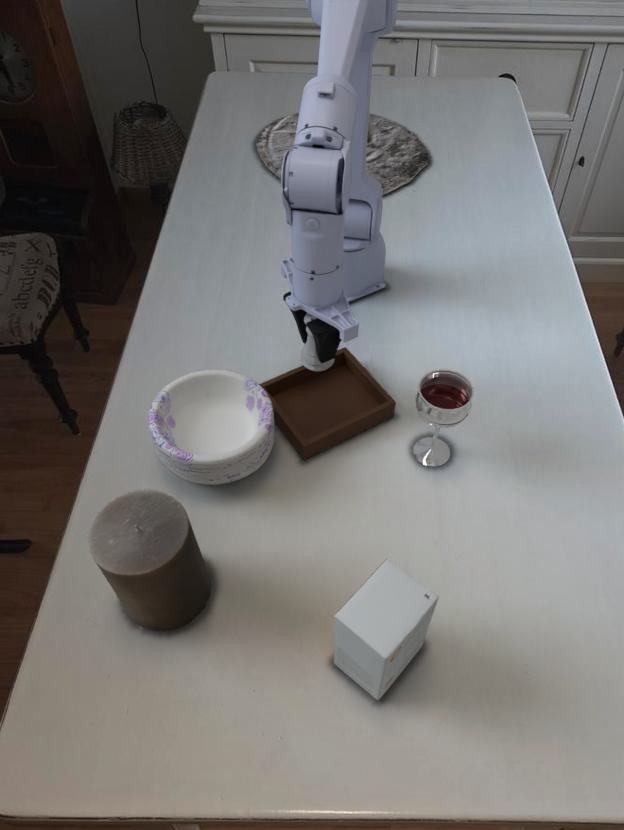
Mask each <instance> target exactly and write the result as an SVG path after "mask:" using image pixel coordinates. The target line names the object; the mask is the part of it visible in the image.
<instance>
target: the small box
mask: <svg viewBox="0 0 624 830" xmlns="http://www.w3.org/2000/svg"><path fill="white" fill-rule="evenodd" d="M439 597H440V595H439V594H437V593H436V592H434V591H432V590H431V589H430V588H428V587H427V586H426V585H424V584H423V583H422V582H421V581H419V580H418V579H416V578H415V577H414V576H412V575H411V574H410V573H408V572H407V571H405V570H404V569H402V568H401V567H400V566H399V565H397V564H396V563H394V562H393V561H392V560H390V559H389V558H385V559H384V561H383V562H381V563H380V565H379V566H378V567H377V568H376V569H375V570H374V571H373V572H372V574H371V575H370V576H369V577H368V578H367V579H366V580H365V581H364V583H362V584H361V585H360V587H359V588H357V590H356V591H355V592H354V593H353V594H352V595H351V597H350V598H348V600H347V601H346V602H345V603H344V604H343V605H342V606H341V607H340V609H339V610H338V611H337V612H336V613H335V614H334V615H333V616H334V617H333V664H334V665H335V666H336V667H338V669H340V670H341V671H342V672H343V673H344V674H345V675H347V676H348V677H349V678H351V680H353V681H354V682H355V683H356V684H357V685H358V686H360V687H361V688H362V689H363V690H364V691H366V693H368V694H369V695H370V696H372V698H374V699H375V700H376V701H380V700H381V698H382V697H383V696H384V695H385V694H386V692H387V691H388V690H389V688H390V687H391V686H392V685H393V684H394V682H395V681H396V680H397V679H398V678H399V676H400V675H401V674H402V672H404V670H405V669H406V668H407V666H408V665H409V664H410V663H411V661H412V660H413V659H414V657H415V656H416V655H417V653H419V651H420V650H421V648H422V647H423V644H424V642H425V638H426V635H427V632H428V629H429V626H430V623H431V621H432V618H433V615H434V612H435V609H436V607H437V604H438V601H439Z"/></svg>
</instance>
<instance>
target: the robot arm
mask: <svg viewBox="0 0 624 830" xmlns="http://www.w3.org/2000/svg"><path fill="white" fill-rule="evenodd" d="M305 1H306V8H307V11H308V12H309V14H310V16H311V21H312V23H314V24H316V25H317V26H318V27H319V28H320V35H319V36H320V37H319V47H318V49H319V50H318V62H317V75H316V76H314V77H312V78H311V79H309V80H308V81H307V83H305V85H304V88H303V90H302V95H301V101H300V106H299V107H300V108H299V118H298V124H297V129H296V135H295V140H294V146H293V151H289V150H287V151H286V152H285V155H284V159H283V164H282V172H281V179H280V190H281V200H282V205H283V208H284V210H285V218H286V219H285V220H286V224H287V225H289V226H290V243H291V256H290V257H288V258H285V259H283V260H280V262H279V263H280V264H279V265H280V275H281V276H282V277H283V278H284V279H286V281H287V284H288V287H289V291H287V292H285V293H284V294H283V297H282V300H283V302H285V304H286V306H287V307H288V308H289V310H290V312H291V314H292V316H293V318H294V321H295V324H296V327H297V330H298V334H299V336H300V339H301V341H302V343H303V344H304V345H305V344H306V342H307V337H308V333H307V331H306V327H308V328H309V330H310V331H311V333H312V335H313V338H314V341H315V345H316V353H317V357H318V360H319V361H320V362H321V363H324V362H327V361H329V360H331V359H334V358H335V355H336V352H337V350H339V347H340V344H341V342H343V343H347V342H349V341H352V340H354V339H356V338H358V337H359V330H360V323H359V322H358V321H357V320H356V318H355V316H354V315H353V312H352V309H351V307H350V306H351V305H350V302H354V301H356V300H357V299H360V298H361V299H362V298H364V297H365V296H368V295H370V294H373V293H375V292H378V291H380V290H382V289H385V288H386V287H387V284H386V283H385V282H384V275H385V265H386V254H387V249H386V243H385V239H384V236H383V234H382V233H381V225H382V219H383V217H382V216H383V208H384V207H383V204H384V202H383V195H382V194H383V189H382V188H381V186H382V185H381V184H380V183H379V182H378V181H377V180H376V179H375V178H373V177H372V176H371V175H370V174H369V173H368V172H367V171H366V170H365V166H366V152H367V137H368V122H369V114H370V105H371V91H372V78H373V77H372V75H373V62H374V61H373V59H374V51H375V48H376V45H377V42H378V40H379V38H380V37H383V36H386V35H391V34H393V33H394V29H395V27H396V23H397V14H398V13H397V12H398V5H399V0H305ZM307 313H309V314H311V315H313V316H315V317H317V319H314V320H312V321H309V322H307V323H306V324H305V322H304V317H305V315H306V314H307Z"/></svg>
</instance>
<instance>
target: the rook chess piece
mask: <svg viewBox="0 0 624 830" xmlns="http://www.w3.org/2000/svg"><path fill="white" fill-rule="evenodd" d="M314 319H317V317H315V316H313V315H311V314H309V313H307V314H306V315H305V317H304V322H305V324H306V323H307V322H309V321H312V320H314ZM306 331H307V333H308V337H307V342H306V344H304V345H303V347H302V348H301V351H300V362H301V363H302V365H304V366H305V367H306V368H308V369H309V370H311V371H316V372H320V371H324V370H326V369H328V368H329V367H331V366H332V364H333V363H334V359H331V360H329V361H327V362H324V363H321V362H320V361H319V360H318V357H317V353H316V345H315V341H314V338H313V335H312V333H311V331H310V330H309V328H308V327H306Z"/></svg>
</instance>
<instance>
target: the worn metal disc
mask: <svg viewBox="0 0 624 830" xmlns="http://www.w3.org/2000/svg"><path fill="white" fill-rule="evenodd" d="M298 118H299V113H294V114H290V115H287V116H284V117H281V118H279V119H276V120H274V121H273V122H271V123H270V124H267V126H265V128H263V129H262V130H261V131H260V133H258V135H257V137H256V140H255V142H254V143H255V146H256V150H257V152H258V153H257V154H258V155H259V157H260V159H261V161H262V162H263V163H264V165H265V167H266V168H267V169H268V170H269V171H270V172H271V173H272V174H273V175H275V176H276V177H277V178H278V179H280V180H281V172H282V164H283V159H284V155H285V152H286V151H287V150H289V151H293V146H294V140H295V135H296V129H297V124H298ZM429 163H430V157H429V153H427V150H426V148H425V146H424V145H423V143H422V142H421V141H420V140H419V139H418V137H417V136H416V135H415V134H414V133H413V132H412V131H411V130H408V129H407V128H405V127H404V126H403V125H401V124H399V123H396V121H393V120H389V119H387V118H385V117H383V116H380V115H376V114H374V113H373V114H372V113H369V122H368V137H367V152H366V166H365V170H366V171H367V172H368V173H369V174H370V175H371V176H372V177H373V178H375V179H376V180H377V181H378V182H379V183H380V184H381V185H382V186H381V188H382V189H383V194H382V196H384V195H387V194H389V193H392V192H393V191H395V190H397V189H398V188H400V187H402V186H404V185H405V186H406V185H408V184H410V183H411V182H412V180H413V179H414V178H415V177H416V176H417V174H419V172H421V171H422V170H423V169H424V168H425V167H426V166H428V164H429Z"/></svg>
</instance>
